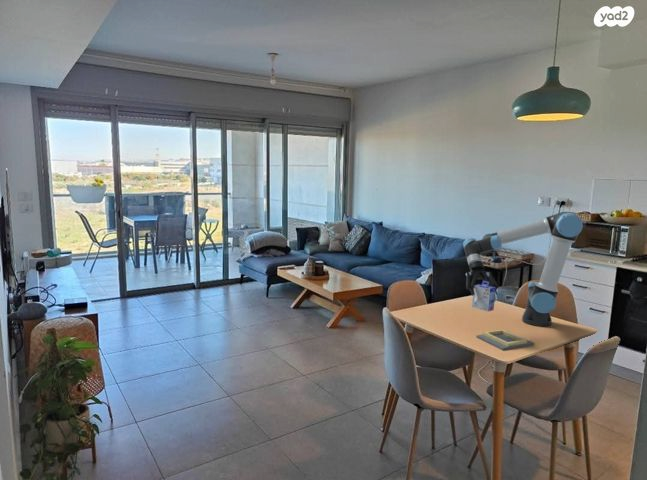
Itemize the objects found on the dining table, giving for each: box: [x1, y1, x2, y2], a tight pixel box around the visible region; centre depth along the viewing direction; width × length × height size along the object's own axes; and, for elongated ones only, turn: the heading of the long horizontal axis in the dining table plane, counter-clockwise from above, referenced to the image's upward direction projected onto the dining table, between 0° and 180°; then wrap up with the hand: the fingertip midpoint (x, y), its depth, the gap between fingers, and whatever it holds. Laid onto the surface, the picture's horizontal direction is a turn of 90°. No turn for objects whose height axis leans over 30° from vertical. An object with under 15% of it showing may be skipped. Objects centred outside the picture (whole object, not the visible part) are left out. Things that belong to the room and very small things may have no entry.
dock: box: [475, 329, 535, 351], centre depth 222 cm, size 20×18×2 cm
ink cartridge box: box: [471, 280, 495, 312], centre depth 229 cm, size 10×6×14 cm, turn 39°
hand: (486, 300), depth 226 cm, fingers closed on ink cartridge box, 9 cm apart
